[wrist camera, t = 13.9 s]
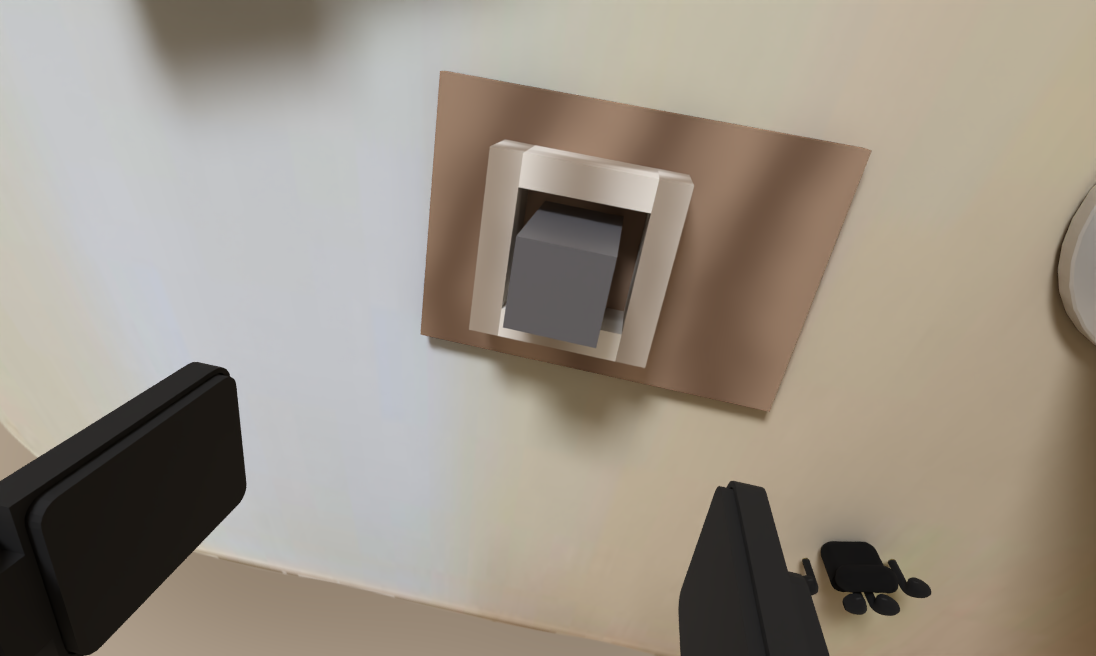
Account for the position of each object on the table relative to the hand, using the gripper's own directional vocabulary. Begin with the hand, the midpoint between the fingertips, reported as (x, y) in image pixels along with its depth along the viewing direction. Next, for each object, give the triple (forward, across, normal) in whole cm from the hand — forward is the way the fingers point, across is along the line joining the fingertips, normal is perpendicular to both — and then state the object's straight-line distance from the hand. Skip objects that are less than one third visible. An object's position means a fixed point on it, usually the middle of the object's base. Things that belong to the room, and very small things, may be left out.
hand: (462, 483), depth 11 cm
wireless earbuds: (+21, -19, +16) cm, 33 cm away
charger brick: (+20, 0, +1) cm, 20 cm away
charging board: (+21, -2, +1) cm, 21 cm away
